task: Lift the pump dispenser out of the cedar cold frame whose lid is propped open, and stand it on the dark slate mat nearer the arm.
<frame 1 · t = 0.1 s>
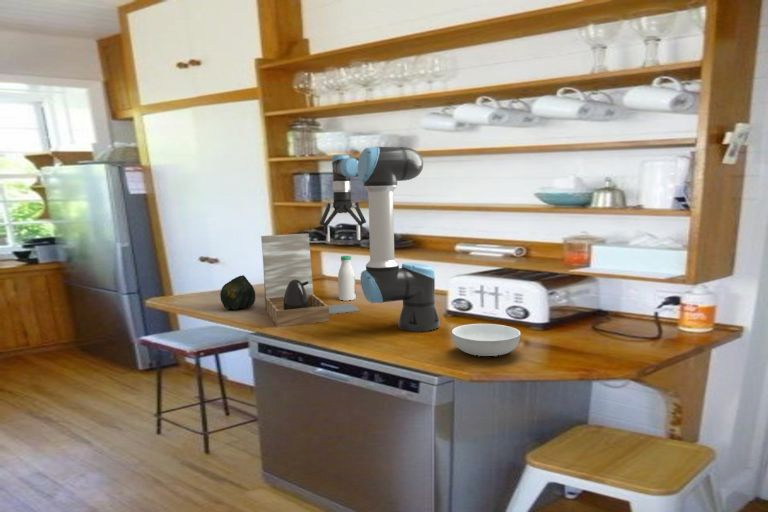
hand: (343, 240, 242), 28 cm above the kitchen counter, tool pointing down, fingers open, 13 cm apart
serving bowl: (485, 353, 173), on the kitchen counter
cold frame: (296, 316, 225), on the kitchen counter
milk bottle: (347, 299, 256), on the kitchen counter
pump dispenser: (296, 317, 225), resting in cold frame
slate mat: (339, 309, 236), on the kitchen counter
squash: (238, 308, 243), on the kitchen counter
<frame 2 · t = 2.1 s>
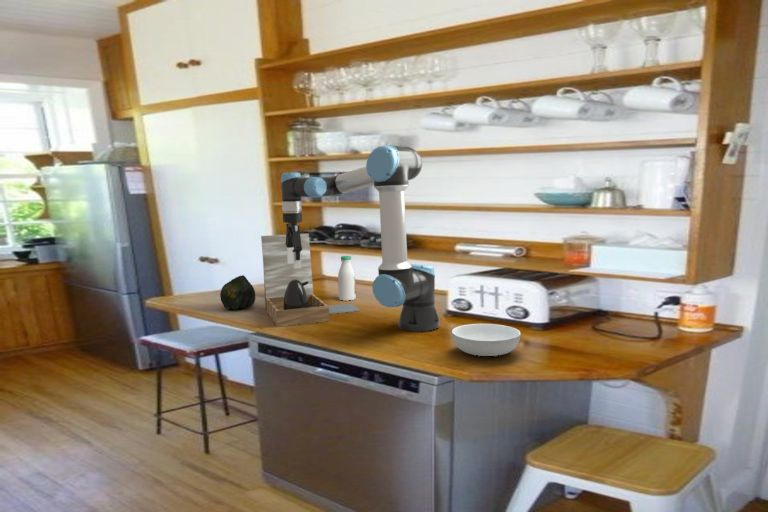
hand: (294, 265, 222), 21 cm above the kitchen counter, tool pointing down, fingers open, 13 cm apart
nothing on the kitchen counter moved.
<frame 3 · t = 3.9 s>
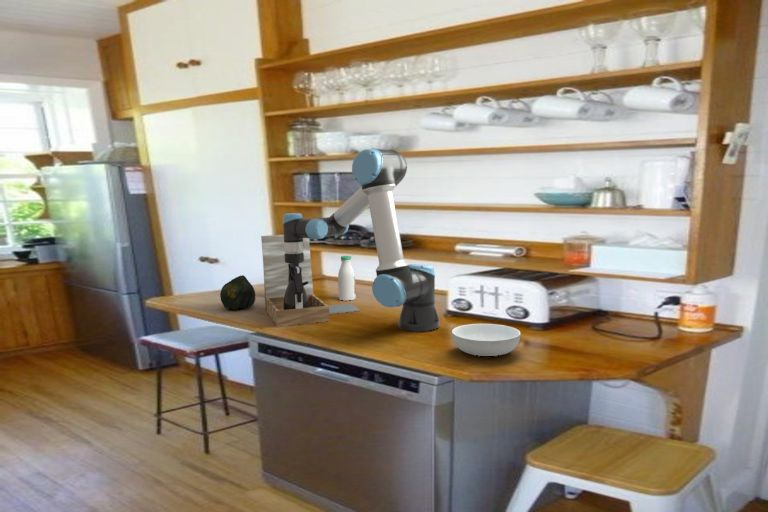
hand: (296, 307, 224), 4 cm above the kitchen counter, tool pointing down, fingers closed on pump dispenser, 10 cm apart
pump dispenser: (296, 317, 225), resting in cold frame, touching gripper
everything else where it was.
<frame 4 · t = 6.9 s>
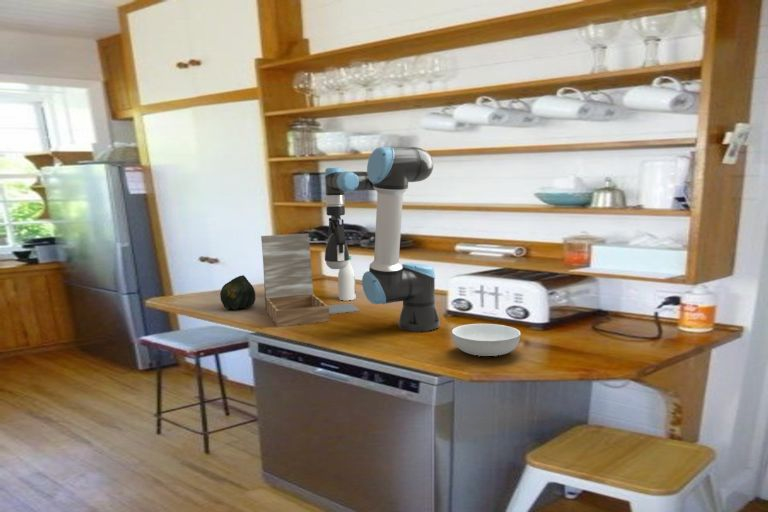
hand: (337, 259, 233), 21 cm above the kitchen counter, tool pointing down, fingers closed on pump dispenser, 10 cm apart
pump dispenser: (337, 268, 233), point 17 cm above the kitchen counter, touching gripper
everything else where it was.
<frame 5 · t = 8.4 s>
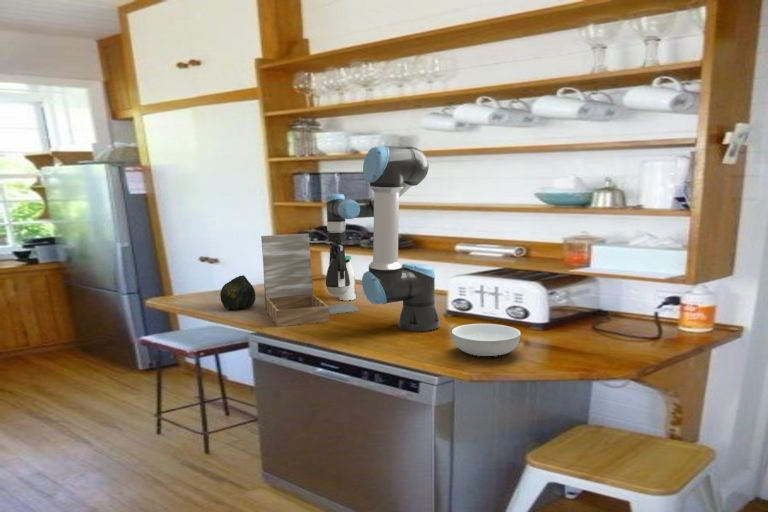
hand: (338, 284, 234), 11 cm above the kitchen counter, tool pointing down, fingers closed on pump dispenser, 10 cm apart
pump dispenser: (338, 293, 235), point 7 cm above the kitchen counter, touching gripper
everything else where it was.
when the fingers open (5 cm above the kitchen counter, at t = 9.9 s): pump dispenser stays where it is, resting on slate mat.
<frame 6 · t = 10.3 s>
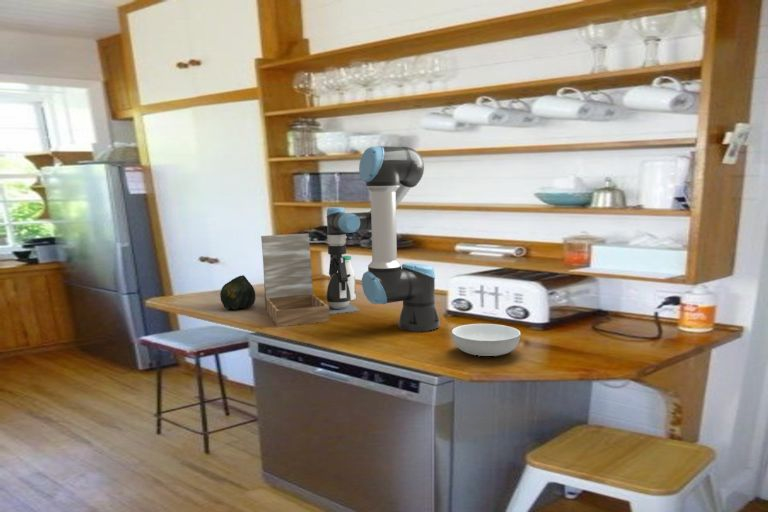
hand: (338, 295, 235), 6 cm above the kitchen counter, tool pointing down, fingers open, 13 cm apart
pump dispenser: (339, 308, 236), resting on slate mat
everything else where it was.
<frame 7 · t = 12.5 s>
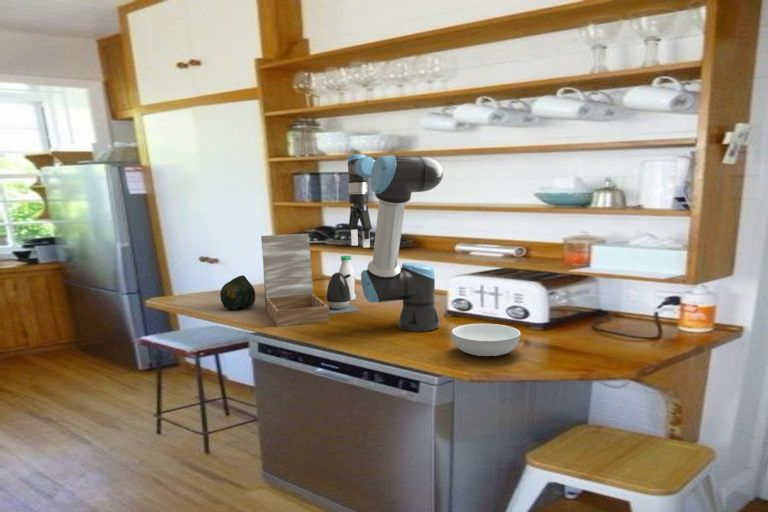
hand: (360, 246, 227), 27 cm above the kitchen counter, tool pointing down, fingers open, 13 cm apart
nothing on the kitchen counter moved.
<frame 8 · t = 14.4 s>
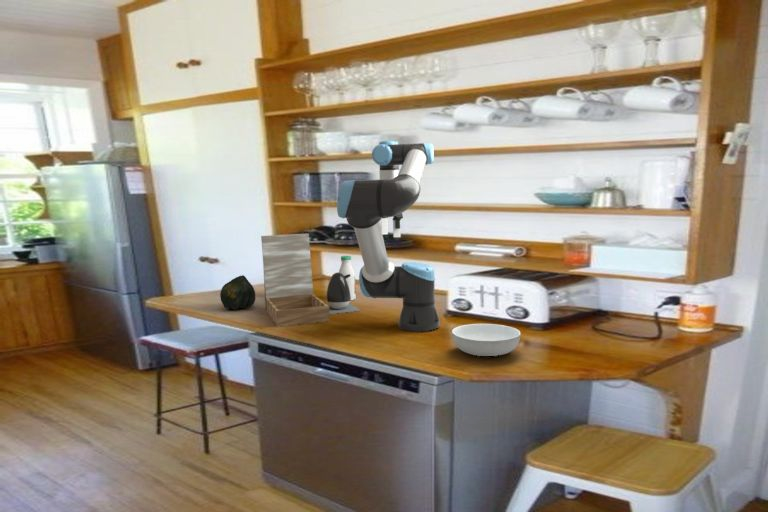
hand: (390, 235, 221), 32 cm above the kitchen counter, tool pointing down, fingers open, 13 cm apart
nothing on the kitchen counter moved.
at the end: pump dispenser inside the target area on the slate mat (0.1 cm from its centre), point 0.4 cm above the slate mat's base; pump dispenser tilted 0°; the gripper is holding nothing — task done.
